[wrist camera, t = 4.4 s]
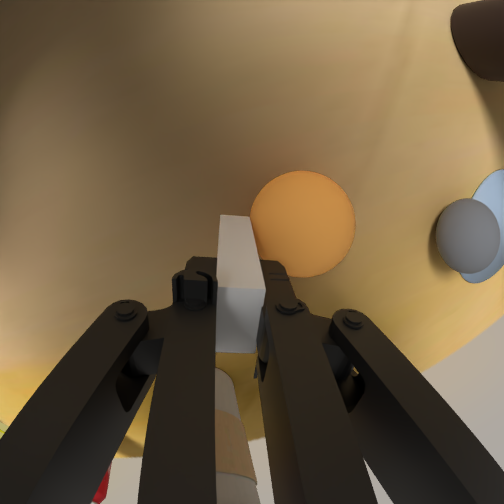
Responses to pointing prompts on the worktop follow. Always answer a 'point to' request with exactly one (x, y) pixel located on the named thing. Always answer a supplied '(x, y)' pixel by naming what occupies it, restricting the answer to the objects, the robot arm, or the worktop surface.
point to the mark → (500, 203)
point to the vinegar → (481, 37)
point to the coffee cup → (231, 448)
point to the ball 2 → (468, 236)
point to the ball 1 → (303, 223)
